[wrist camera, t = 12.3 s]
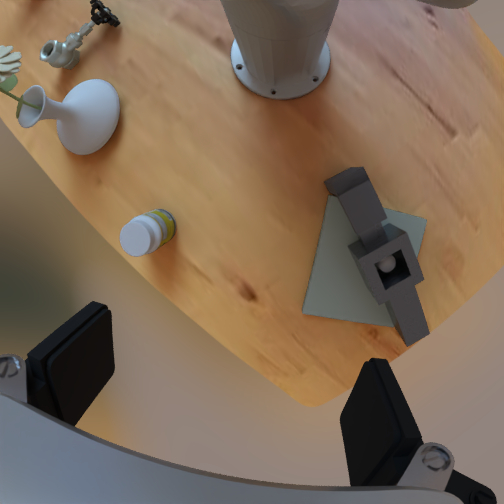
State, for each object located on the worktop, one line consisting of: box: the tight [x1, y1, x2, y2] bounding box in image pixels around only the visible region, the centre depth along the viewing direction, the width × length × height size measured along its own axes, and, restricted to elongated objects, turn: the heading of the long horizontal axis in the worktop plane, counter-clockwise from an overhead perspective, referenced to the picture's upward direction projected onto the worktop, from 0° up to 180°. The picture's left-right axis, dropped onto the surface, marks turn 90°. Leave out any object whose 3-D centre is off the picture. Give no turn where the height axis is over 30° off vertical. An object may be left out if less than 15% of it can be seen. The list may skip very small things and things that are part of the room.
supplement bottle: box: [120, 209, 176, 257], centre depth 37 cm, size 5×5×8 cm
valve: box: [40, 0, 120, 70], centre depth 31 cm, size 7×7×12 cm
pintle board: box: [302, 167, 427, 327], centre depth 36 cm, size 20×15×6 cm
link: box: [347, 222, 430, 347], centre depth 35 cm, size 18×6×6 cm, turn 30°
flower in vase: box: [0, 46, 120, 155], centre depth 25 cm, size 13×11×25 cm
